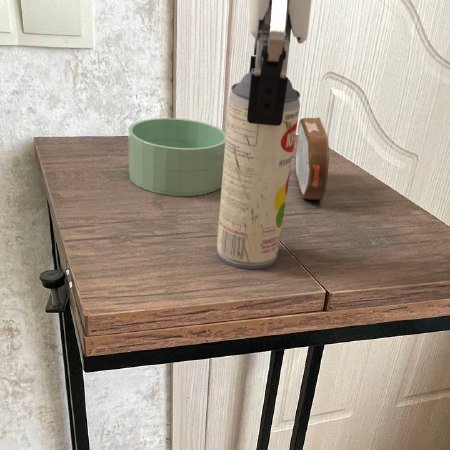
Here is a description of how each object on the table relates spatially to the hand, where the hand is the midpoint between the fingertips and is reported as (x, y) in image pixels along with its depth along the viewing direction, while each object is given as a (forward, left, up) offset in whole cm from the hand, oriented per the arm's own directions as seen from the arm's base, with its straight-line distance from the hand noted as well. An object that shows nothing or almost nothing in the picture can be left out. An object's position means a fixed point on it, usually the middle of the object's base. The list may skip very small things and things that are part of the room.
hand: (263, 110), depth 60 cm
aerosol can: (0, 0, -15) cm, 15 cm away
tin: (-8, -22, -15) cm, 28 cm away
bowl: (+10, -21, -15) cm, 28 cm away
